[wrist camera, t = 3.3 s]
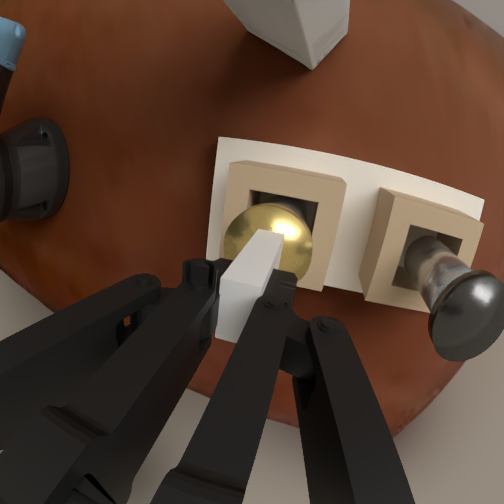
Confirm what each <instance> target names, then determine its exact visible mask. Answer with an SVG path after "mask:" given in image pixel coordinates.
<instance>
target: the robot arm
mask: <svg viewBox="0 0 504 504" xmlns="http://www.w3.org/2000/svg"><path fill="white" fill-rule="evenodd" d="M25 39H26V31H25V28H24V27H23V26H22V25H21V24H19V23H16V22H14V21H11V20H8V19H5V18H2V17H0V114H1V110H2V107H3V103H4V100H5V96H6V93H7V90H8V86H9V83H10V80H11V77H12V75H13V72H14V71H16V69H17V62H18V59H19V56H20V53H21V50H22V48H23V45H24V43H25ZM68 180H69V157H68V150H67V145H66V142H65V139H64V136H63V134H62V132H61V130H60V128H59V127H58V126H57V124H56V123H54V122H53V121H52V120H50V119H47V118H36V119H30V120H27V121H25V122H23V123H21V124H19V125H17V126H15V127H13V128H11V129H9V130H7V131H5V132H3V133H1V134H0V222H2V221H5V220H23V221H38V220H42V219H44V218H47V217H50V216H52V215H53V214H55V213H56V212H57V211H58V209H59V208H60V206H61V205H62V203H63V200H64V198H65V195H66V191H67V187H68ZM284 236H285V234H282V233H277V232H273V231H268V230H263V229H258V230H257V231H256V232H255V234H254V235H253V236H252V238H251V239H250V240H249V242H248V243H247V244H246V245H245V247H244V248H243V249H242V251H241V252H240V253H239V254H238V256H237V257H236V258H235V260H229V259H225V258H219V259H217V260H214V261H213V262H212V261H209V260H206V259H190V260H186V261H184V262H183V277H182V283H181V284H180V285H179V286H178V287H177V288H163V287H161V282H160V280H159V278H157V277H156V276H154V275H150V274H145V273H143V274H137V275H134V276H131V277H129V278H127V279H125V280H123V281H120V282H118V283H116V284H114V285H112V286H110V287H108V288H106V289H104V290H101V291H99V292H97V293H95V294H93V295H91V296H89V297H87V298H85V299H83V300H81V301H79V302H77V303H75V304H73V305H71V306H69V307H66V308H64V309H62V310H60V311H58V312H56V313H54V314H52V315H50V316H48V317H46V318H44V319H42V320H40V321H39V322H36V323H34V324H33V325H31V326H29V327H27V328H25V329H23V330H21V331H19V332H17V333H15V334H13V335H11V336H9V337H7V338H6V339H4V340H2V341H0V450H3V449H4V450H3V451H2V452H1V453H0V504H126V503H127V501H128V499H129V497H130V494H131V488H132V482H133V479H134V477H135V475H136V474H137V472H138V470H139V469H140V467H141V465H142V464H143V462H144V460H145V458H146V457H147V455H148V453H149V452H150V450H151V448H152V446H153V445H154V443H155V441H156V439H157V438H158V436H159V434H160V432H161V431H162V429H163V427H164V426H165V424H166V422H167V420H168V419H169V417H170V415H171V413H172V412H173V410H174V408H175V407H176V405H177V403H178V401H179V399H180V398H181V396H182V394H183V393H184V391H185V389H186V387H187V386H188V384H189V382H190V380H191V379H192V377H193V375H194V373H195V372H196V370H197V368H198V366H199V365H200V363H201V361H202V359H203V358H204V356H205V354H206V352H207V350H208V349H209V347H210V345H211V341H212V333H213V332H214V330H215V328H216V332H215V338H219V339H222V340H226V341H230V342H234V343H236V345H235V348H234V350H233V352H232V354H231V356H230V358H229V361H228V363H227V365H226V367H225V369H224V371H223V373H222V376H221V378H220V380H219V382H218V384H217V386H216V388H215V390H214V393H213V395H212V397H211V399H210V401H209V403H208V405H207V407H206V409H205V412H204V414H203V416H202V418H201V420H200V422H199V424H198V426H197V428H196V430H195V432H194V434H193V436H192V438H191V440H190V442H189V445H188V446H187V448H186V450H185V452H184V455H183V457H182V458H181V460H180V463H179V464H178V466H177V467H176V468H174V469H171V470H170V471H169V472H168V473H167V474H166V476H165V477H164V479H163V481H162V482H161V484H160V486H159V488H158V489H157V491H156V493H155V495H154V497H153V499H152V501H151V503H150V504H242V502H243V498H244V495H245V490H246V486H247V483H248V480H249V476H250V473H251V470H252V466H253V463H254V460H255V456H256V453H257V449H258V446H259V442H260V439H261V435H262V432H263V428H264V424H265V421H266V417H267V413H268V409H269V406H270V402H271V398H272V394H273V390H274V386H275V382H276V378H277V374H278V370H279V369H281V370H283V371H285V372H287V373H289V374H291V375H293V377H292V383H293V389H294V395H295V402H296V408H297V415H298V422H299V428H300V435H301V442H302V448H303V455H304V462H305V470H306V476H307V484H308V491H309V499H310V504H415V502H414V498H413V495H412V492H411V489H410V486H409V483H408V480H407V477H406V475H405V472H404V469H403V466H402V463H401V460H400V458H399V455H398V452H397V450H396V447H395V444H394V441H393V439H392V436H391V433H390V431H389V428H388V426H387V423H386V420H385V418H384V415H383V413H382V410H381V408H380V405H379V403H378V400H377V398H376V396H375V393H374V391H373V388H372V386H371V383H370V381H369V379H368V376H367V374H366V372H365V369H364V367H363V365H362V362H361V360H360V358H359V356H358V353H357V351H356V349H355V346H354V344H353V342H352V340H351V338H350V335H349V333H348V331H347V329H346V327H345V326H344V324H343V323H341V322H340V321H338V320H337V319H335V318H332V317H327V316H317V317H314V318H312V319H311V320H310V322H308V321H306V320H304V319H302V318H300V317H299V316H297V315H296V314H295V313H294V311H293V309H292V305H293V301H294V296H295V291H296V286H297V280H298V278H297V277H296V275H295V273H292V272H287V271H283V270H278V268H279V263H280V258H281V252H282V247H283V241H284ZM127 316H129V317H130V324H129V325H128V326H124V321H123V319H124V318H126V317H127Z"/></svg>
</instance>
